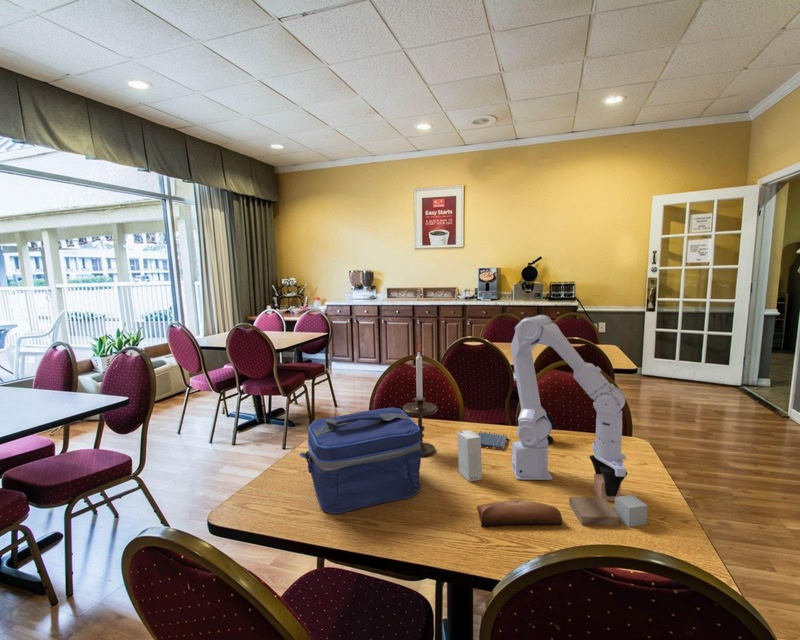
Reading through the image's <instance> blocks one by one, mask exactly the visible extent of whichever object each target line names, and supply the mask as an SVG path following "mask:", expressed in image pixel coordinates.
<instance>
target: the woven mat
mask: <svg viewBox="0 0 800 640" xmlns="http://www.w3.org/2000/svg"><path fill="white" fill-rule="evenodd" d="M477 435H478V436H480V437H481V447H488V448H492V449H491V450H495V449H498V451H502V449H503V450H505V449H506V446H507V445H506V444H507V443H508V441H507V440H506V439H508V440H509V437H508V435H507V434H506V435H505V434H504V433H503V434H500V433H497V434H496V433H495V432H494V433H491V432H489V433H488V432H486V431H484V432H482V431H481V430H479V432H478V433H477ZM505 443H506V444H505ZM493 444H494V445H493ZM483 445H484V446H483ZM495 446H496V447H495ZM498 447H499V448H498ZM488 448H487V449H488ZM500 448H501V450H499V449H500Z"/></svg>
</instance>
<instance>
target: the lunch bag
mask: <svg viewBox="0 0 800 640" xmlns="http://www.w3.org/2000/svg"><path fill="white" fill-rule="evenodd" d="M307 433H308V434H307V436H308V437H307V447H308V450H307V451H306V452H300V453H299V456H300V457H301V458H305V459H306V461H307V468H308V474H310V475H311V479H312V482H313V483H312V485H313V488H314V492H315V495H316V498H317V502H318V505H319V508H320V509H321V510H322V511H324V512H325V513H330V514H341V513H347V512H350V511H354V510H357V509H362V508H366V507H369V506H374V505H378V504H383V503H389V502H394V501H398V500H403V499H408V498H411V497H414V496H415V495H417V494H418V493H419V492H420V490H421V485H420V469H421V464H422V463H421V462H422V457H421V456H422V452H421V447H420V441H421V439H420V428H419V426H418V423H416V422H415V421H414V420H413V419H412V418H411V417H410V415H408V414H406V413H404V412H403V409H401V408H397V407H386V408H377V409H371V410H370V409H369V410H364V411H359V412H358V411H357V412H353V413H348V414H342V415H337V416H336V415H335V416H331V417H326V418H317V419H315V420H313V421H312V422H311V423H310V425H309V426H308V430H307Z"/></svg>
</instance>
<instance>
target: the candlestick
mask: <svg viewBox="0 0 800 640" xmlns="http://www.w3.org/2000/svg"><path fill="white" fill-rule="evenodd" d="M421 347H422V343H420V344H419V346H418V348H417V355H416V357H415V367H416V370H415V371H416V373H415V374H416V382H415V383H416V397H414V398H413V400H414V401H413V402H412V401H411V402H408V403H405V404H404V405H403V406H402V411H403V412H404V413H406V414H407V415H408V416H415V417H417V425H418V426H419V428H420V439H421V441H420V447H421V452H422V456H421V458H424V457H425V458H426V457H430V456H432V455H434V454H435V452H436V451H435V450H436V447H435V445H433V444H431V443H428V442H423V440H424V439H423V438H424V437H425V434H424V433H423V432H424V431H425V426H424V425H423V417H425V416H427V417H428V416H430V415H431V416H432V415H434V414H436V413H437V411H438V406H437V405H436V404H435V403H433V402H430V401H429V402H427V401H426V400H427V398H426V397H423V391H424V390H423V356H421V349H422V348H421Z"/></svg>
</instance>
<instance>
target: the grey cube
mask: <svg viewBox="0 0 800 640" xmlns="http://www.w3.org/2000/svg"><path fill="white" fill-rule="evenodd" d="M613 510H614V511H615V512H616V513H617V515H618V516H619V521H621V522H622V523H623V524H624V525H625V526H626V527H628V528H631V527H637V526H644V525H645V526H646V525H647V524H648V523H647V522H648V504H646V503H645V502H643V501H642V500H641V499H639V498H637V497H636V496H635V495H633V494H627V495H620V496H619V497H615V501H614V508H613Z"/></svg>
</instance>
